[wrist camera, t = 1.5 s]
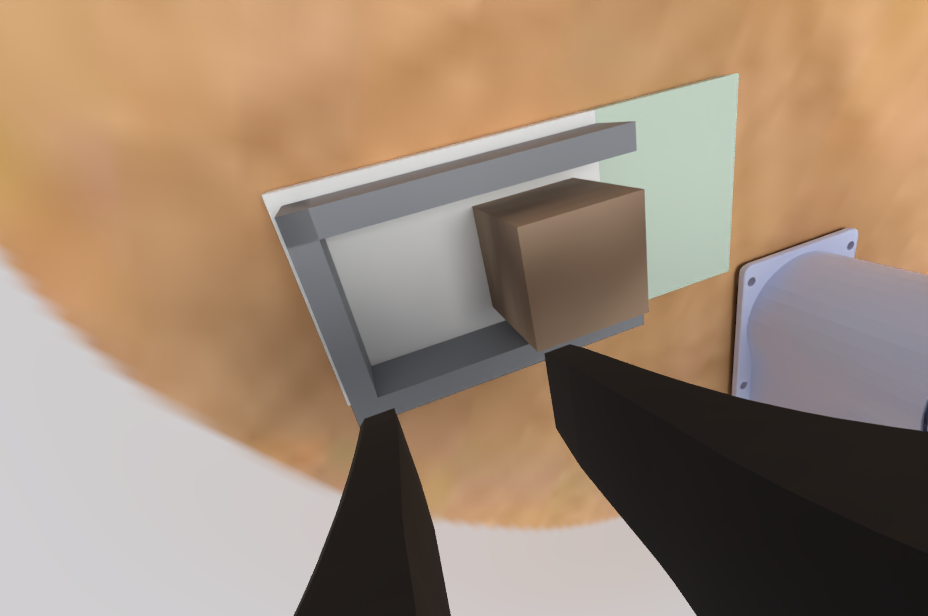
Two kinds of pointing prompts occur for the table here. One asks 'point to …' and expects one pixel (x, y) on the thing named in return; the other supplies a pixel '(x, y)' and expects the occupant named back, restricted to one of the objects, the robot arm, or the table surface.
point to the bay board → (457, 244)
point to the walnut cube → (565, 258)
